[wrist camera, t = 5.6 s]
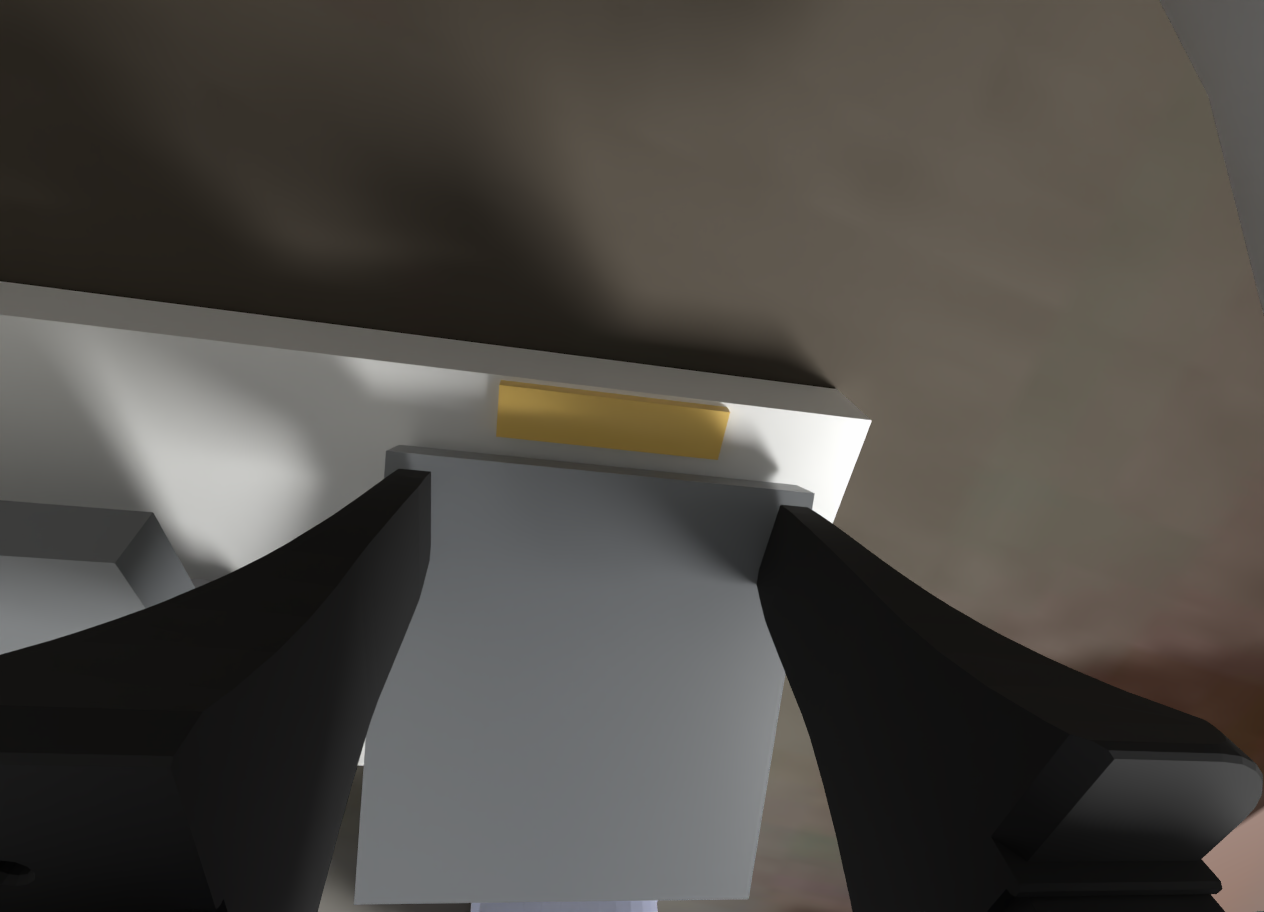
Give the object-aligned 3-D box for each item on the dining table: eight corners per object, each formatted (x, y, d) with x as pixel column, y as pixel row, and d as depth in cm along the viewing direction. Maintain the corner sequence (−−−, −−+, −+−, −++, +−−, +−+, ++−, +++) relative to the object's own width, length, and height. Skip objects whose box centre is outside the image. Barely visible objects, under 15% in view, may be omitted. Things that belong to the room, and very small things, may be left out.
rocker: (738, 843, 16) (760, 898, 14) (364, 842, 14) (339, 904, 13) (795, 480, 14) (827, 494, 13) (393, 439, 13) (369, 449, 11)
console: (723, 721, 21) (746, 809, 18) (-40, 694, 17) (-157, 799, 15) (837, 389, 15) (897, 442, 12) (-272, 246, 12) (-543, 276, 9)
